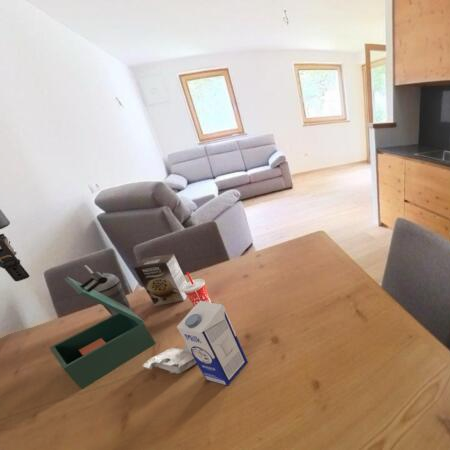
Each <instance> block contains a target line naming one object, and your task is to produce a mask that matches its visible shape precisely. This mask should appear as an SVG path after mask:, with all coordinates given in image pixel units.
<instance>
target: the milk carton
mask: <svg viewBox="0 0 450 450" xmlns="http://www.w3.org/2000/svg"><path fill="white" fill-rule="evenodd" d="M176 329H177V331H178V332H179V334H180V336H181V338H182V339H183V341H184V343H185V344H186V345H187V346H188V348H189V350H190V352H191V354H192V355H193V357H194V359H195V361H196V362H197V363H196V364H197V366H198V368H199V370H200V371H201V373H202V375H203V377H204V379H205V380H206V381H209V382H212V383H215V384H220V385H223V386H225V387H226V386H227V387H229V385H230V384H231V383H232V381H233V380H234V379H235V378H236V377H237V376H238V375H239V373H240V372H242V370H243V369H244V368H245V366H247V365H248V363H249V361H248V358H247V356H246V355H245V352H244V350H243V347H242V345H241V343H240V340H239V338H238V336H237V334H236V331H235V328H234V327H233V324H232V322H231V320H230V318H229V316H228V313H227V310H226V308H225V306H224V304H220V303H216V302H212V301H211V302H205V301H200V302H199V303H198V304H197V305H196V306H195V307H194V306H192V308H191V309H190V311H189V312H188V313H187V314H186V315H185V316H184V317H183V319H182V320H181V321H180V322H179V323H178V324H177V326H176Z"/></svg>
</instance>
